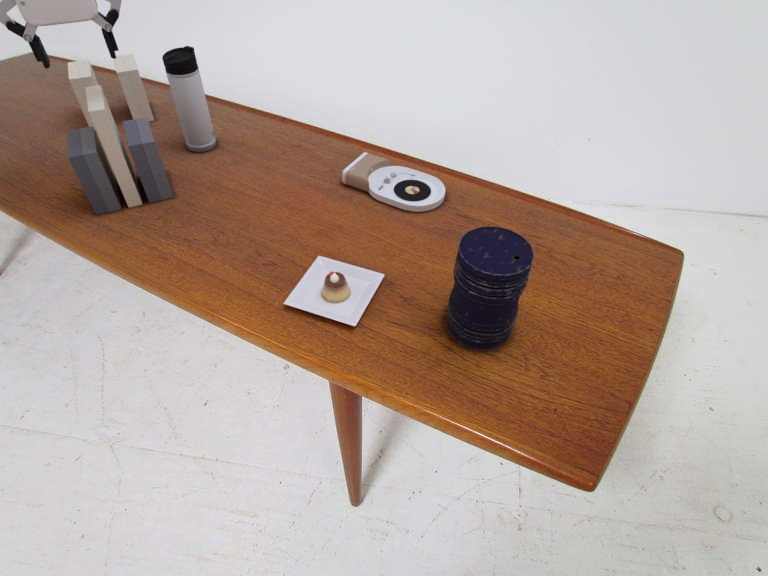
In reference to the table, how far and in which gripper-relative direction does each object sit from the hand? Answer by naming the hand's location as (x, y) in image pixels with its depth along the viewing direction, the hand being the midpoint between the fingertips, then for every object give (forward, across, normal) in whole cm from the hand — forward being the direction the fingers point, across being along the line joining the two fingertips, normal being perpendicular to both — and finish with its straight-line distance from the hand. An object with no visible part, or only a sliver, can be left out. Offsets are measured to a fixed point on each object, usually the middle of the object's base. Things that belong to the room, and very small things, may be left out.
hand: (81, 60), depth 79 cm
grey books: (+25, 0, 0) cm, 25 cm away
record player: (+26, -48, +19) cm, 57 cm away
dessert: (+26, -26, +42) cm, 55 cm away
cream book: (+25, 0, 0) cm, 25 cm away
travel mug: (+25, -16, -13) cm, 33 cm away
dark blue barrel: (+26, -43, +57) cm, 76 cm away
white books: (+25, -1, -34) cm, 42 cm away
